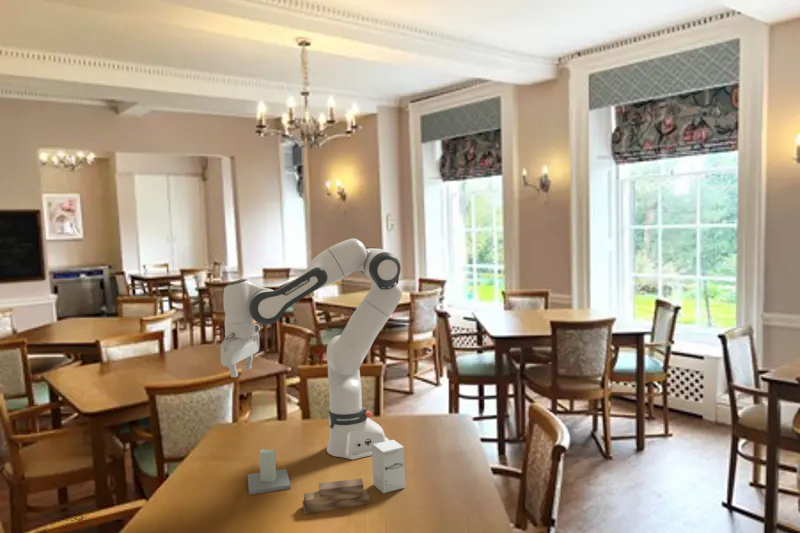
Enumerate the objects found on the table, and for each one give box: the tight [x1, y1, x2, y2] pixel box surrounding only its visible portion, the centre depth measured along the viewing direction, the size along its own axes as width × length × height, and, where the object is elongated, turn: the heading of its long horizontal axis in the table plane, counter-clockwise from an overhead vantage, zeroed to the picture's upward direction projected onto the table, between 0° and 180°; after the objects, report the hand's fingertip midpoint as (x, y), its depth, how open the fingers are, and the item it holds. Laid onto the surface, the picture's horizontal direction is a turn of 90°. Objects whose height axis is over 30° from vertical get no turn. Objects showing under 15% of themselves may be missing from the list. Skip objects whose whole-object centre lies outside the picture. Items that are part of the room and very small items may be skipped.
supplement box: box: [371, 439, 406, 494], centre depth 173 cm, size 7×7×13 cm
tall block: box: [258, 448, 277, 482], centre depth 178 cm, size 2×4×9 cm, turn 79°
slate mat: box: [246, 468, 291, 496], centre depth 178 cm, size 12×12×1 cm
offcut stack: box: [302, 478, 371, 515], centre depth 162 cm, size 18×6×6 cm, turn 107°
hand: (241, 372), depth 188 cm, fingers open, 8 cm apart
